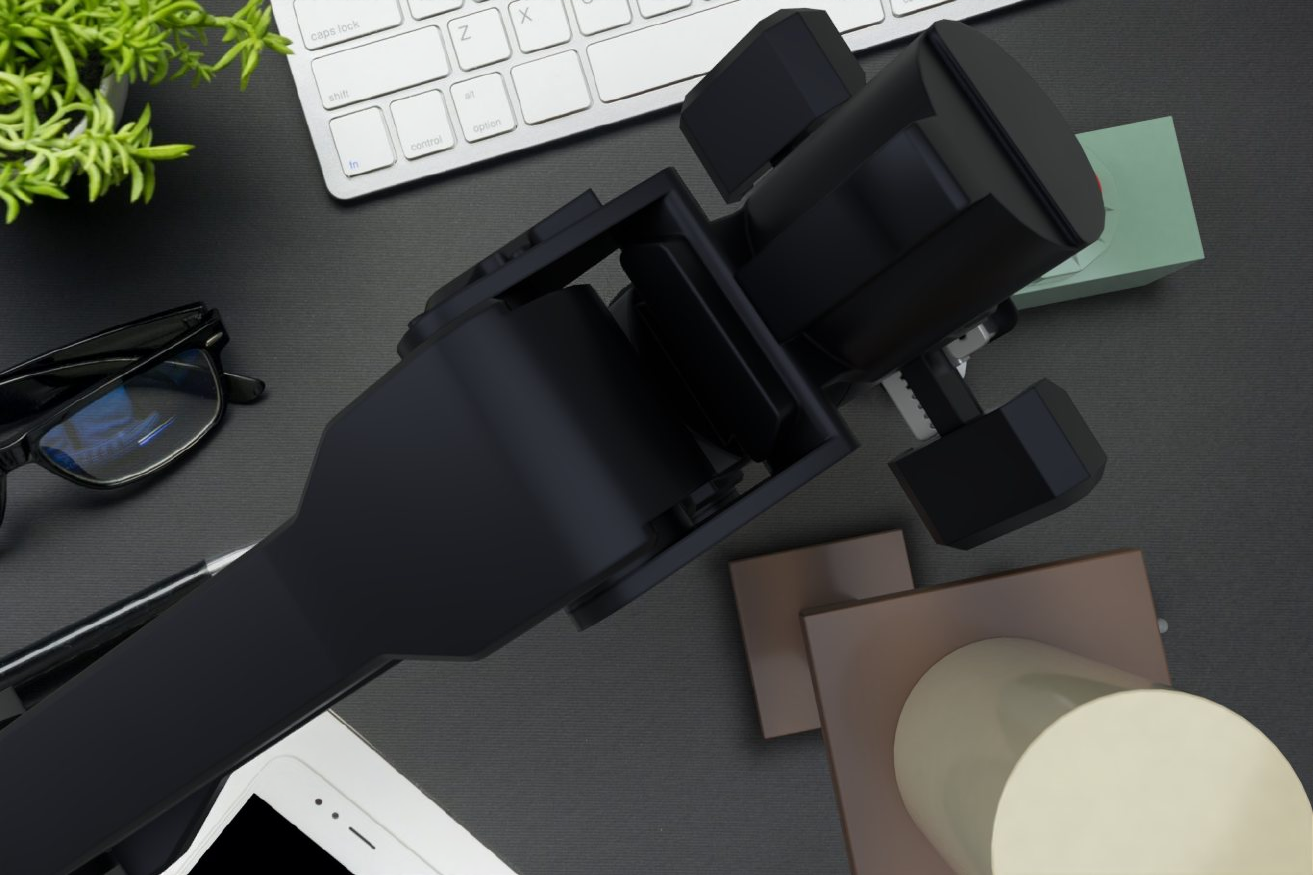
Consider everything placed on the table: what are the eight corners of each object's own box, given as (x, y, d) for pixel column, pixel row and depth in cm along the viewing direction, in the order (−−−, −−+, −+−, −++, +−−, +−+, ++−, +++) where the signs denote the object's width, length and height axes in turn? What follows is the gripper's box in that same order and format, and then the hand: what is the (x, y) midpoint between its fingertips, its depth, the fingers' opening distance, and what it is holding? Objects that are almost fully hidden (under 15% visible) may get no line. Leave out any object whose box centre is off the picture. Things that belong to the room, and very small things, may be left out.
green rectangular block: (946, 324, 56) (994, 293, 48) (918, 195, 57) (961, 144, 49) (1144, 285, 57) (1225, 248, 49) (1115, 158, 57) (1191, 100, 49)
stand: (762, 734, 55) (874, 968, 27) (727, 561, 56) (802, 615, 28) (933, 700, 55) (1221, 898, 27) (897, 528, 56) (1142, 547, 28)
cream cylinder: (919, 897, 27) (1030, 1059, 19) (871, 661, 28) (960, 724, 20) (1150, 850, 27) (1356, 992, 19) (1098, 616, 28) (1280, 660, 20)
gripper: (1205, 508, 25) (1308, 343, 37) (794, -138, 27) (1018, -105, 38) (860, 640, 33) (1034, 469, 44) (551, 133, 34) (799, 93, 46)
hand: (974, 240), depth 43 cm, fingers closed
